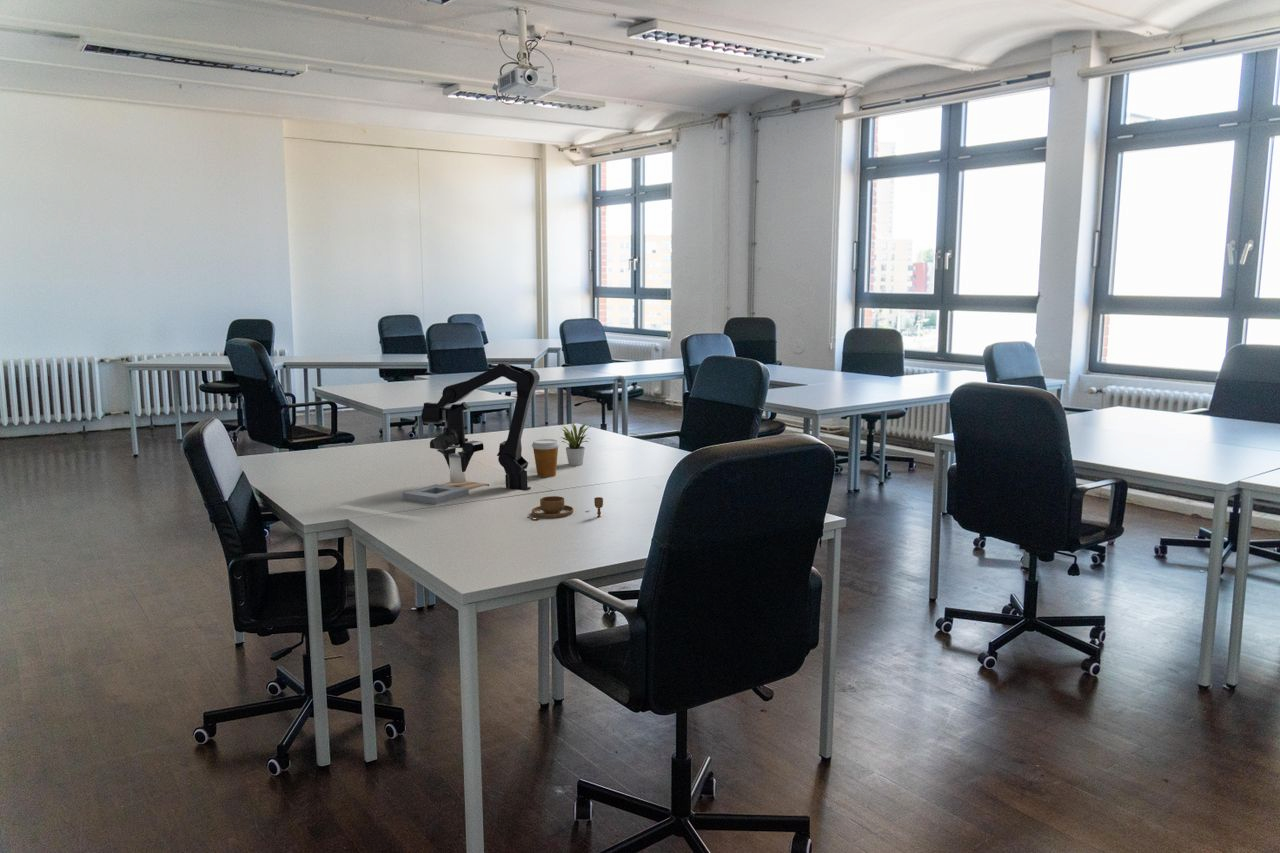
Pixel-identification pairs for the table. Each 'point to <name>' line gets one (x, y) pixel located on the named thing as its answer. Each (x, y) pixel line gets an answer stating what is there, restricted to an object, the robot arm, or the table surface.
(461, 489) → the frame
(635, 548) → the table surface
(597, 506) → the place setting
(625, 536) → the table surface
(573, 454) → the house plant
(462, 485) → the walnut board
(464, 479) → the cylinder
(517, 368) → the robot arm
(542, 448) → the disposable coffee cup
